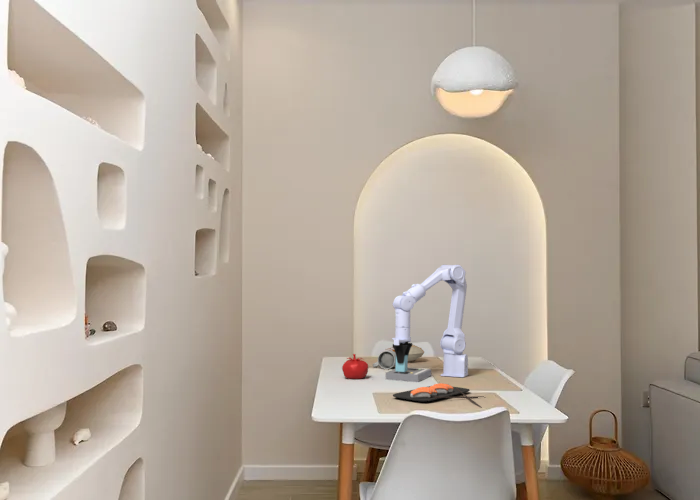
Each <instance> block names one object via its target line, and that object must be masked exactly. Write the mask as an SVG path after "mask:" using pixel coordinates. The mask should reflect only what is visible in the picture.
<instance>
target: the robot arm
mask: <svg viewBox="0 0 700 500" xmlns="http://www.w3.org/2000/svg"><path fill="white" fill-rule="evenodd" d="M466 272H467V271H466V270H465V268H464V267H462V265H460V264H442V265H440V266H439V267H437V268H436V270H435V271H434V272H433V273H431V274H430V275H429V276H428V277H427V278H425V279H424V280H423V281H422V282H421V283H413V284H412V285H410V286H411V287H410V288H409V289H407V290H406V291H403V292H402V294H401V295H397V296H396V297H395V298H394V299H393V302H392V306H393V308H394V312H395V317H394V318H395V320H394V321H395V323H394V324H395V328H394V331H395V333H394V337H392V338H391V340H393V343H392V349H393V350H395V353H396V357H397V362H398V363H403V362H404V357H405V355H409V351H410V349H411V347H412V345H413V343H412V342H411V341H412V337H411V310H413V308H414V305H415V304H416V303H417V302H419V301H420V300H421V299H422V298H424V297H425V296H426V295H427V294H426V293H427V291H428V290H430V289H431V288H433V287H434V286H436V284H438V283H440V282H441V281H444V282H445V283H446V284H448V285H449V286H450V287H451V289H452V291H451V299H450V307H449V315H448V322H447V328H446V329H445V330H444V331H443V334H442V337H441V339H440V341H439V345H440V348H441V349H442V353H443V369H442V371H443V373H440V376H442V377H455V378H465V377H467V376H468V375H469V357H468V356H469V355H468V354H466V353H463V352H465V349H466V345H467V344H466V343H467V342H466V340H465V339H466V338H465V337H466V334H465V333H464V332H463V330H462V327H463V319H464V311H465V305H466V296H467V287H468V285H467V281H466V280H467V279H466V274H467V273H466Z"/></svg>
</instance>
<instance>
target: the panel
mask: <svg viewBox="0 0 700 500" xmlns="http://www.w3.org/2000/svg"><path fill="white" fill-rule="evenodd" d="M431 376H432V369H430V368H418V367H417V368H416V367H415V368H414V367H408V368H407V371H406V372H398V371H396V368H394V369H392V370H389V371H387V372H385V380H389V381H391V380H392V381H401V382H402V381H404V382H413V383H414V382H421V381H422V380H425V379H427V378H429V377H431Z"/></svg>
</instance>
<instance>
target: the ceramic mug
mask: <svg viewBox="0 0 700 500" xmlns="http://www.w3.org/2000/svg"><path fill="white" fill-rule="evenodd" d="M388 350H389V351H388ZM388 350H383V351H382V352H380V353H379V354H378V356H377V361H376V362H373V363H372V367H373V368H377V367H380V368H381V369H383V370H390V369H392V368H394V367H396V353H395V352H394V351H392V350H391V349H388Z"/></svg>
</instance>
